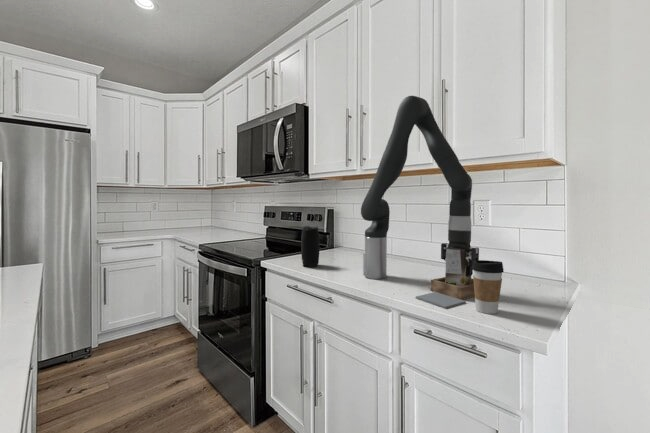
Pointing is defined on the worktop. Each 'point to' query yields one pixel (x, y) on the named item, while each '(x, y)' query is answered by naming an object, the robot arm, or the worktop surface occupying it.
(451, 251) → the coffee box
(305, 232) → the portable speaker
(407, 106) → the robot arm
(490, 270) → the coffee cup
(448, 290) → the walnut caddy
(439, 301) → the slate mat
